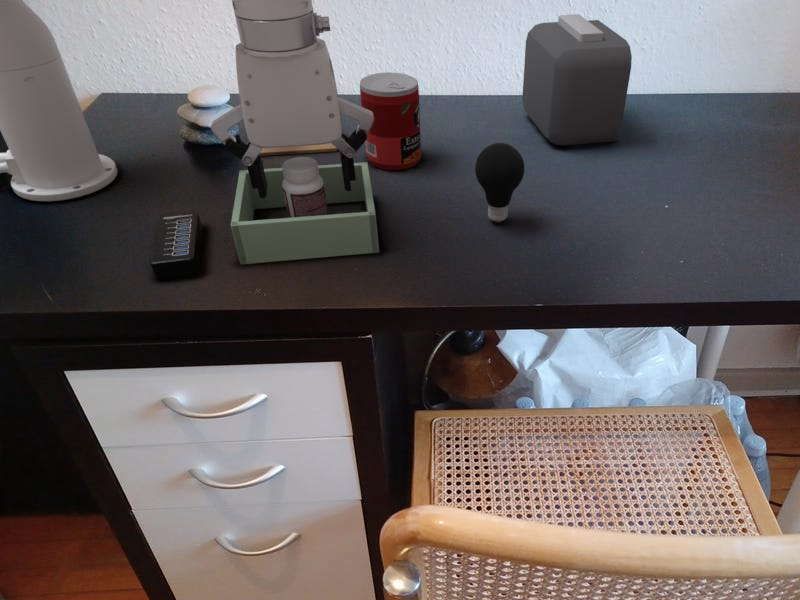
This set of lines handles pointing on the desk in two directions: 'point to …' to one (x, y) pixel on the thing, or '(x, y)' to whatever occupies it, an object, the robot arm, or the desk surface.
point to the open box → (304, 220)
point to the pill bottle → (303, 188)
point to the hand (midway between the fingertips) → (306, 189)
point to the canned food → (392, 120)
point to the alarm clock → (576, 80)
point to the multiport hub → (177, 246)
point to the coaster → (298, 149)
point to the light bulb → (499, 177)
